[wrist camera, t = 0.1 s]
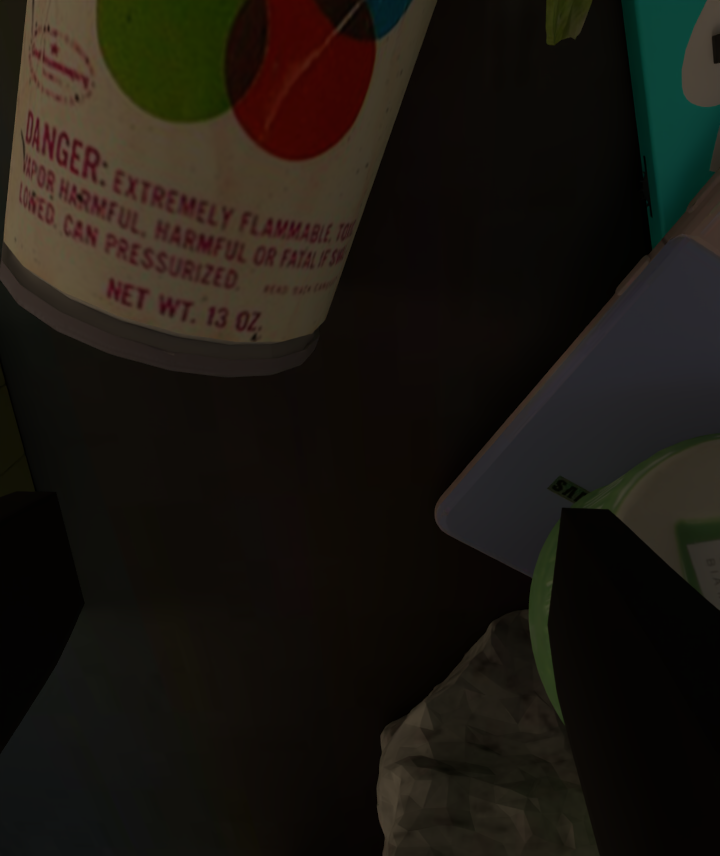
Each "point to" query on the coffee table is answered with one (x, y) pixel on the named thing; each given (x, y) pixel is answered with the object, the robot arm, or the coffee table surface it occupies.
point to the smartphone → (604, 398)
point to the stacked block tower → (11, 449)
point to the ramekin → (648, 529)
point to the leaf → (565, 19)
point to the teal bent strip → (674, 101)
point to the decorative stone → (484, 762)
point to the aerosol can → (199, 170)
